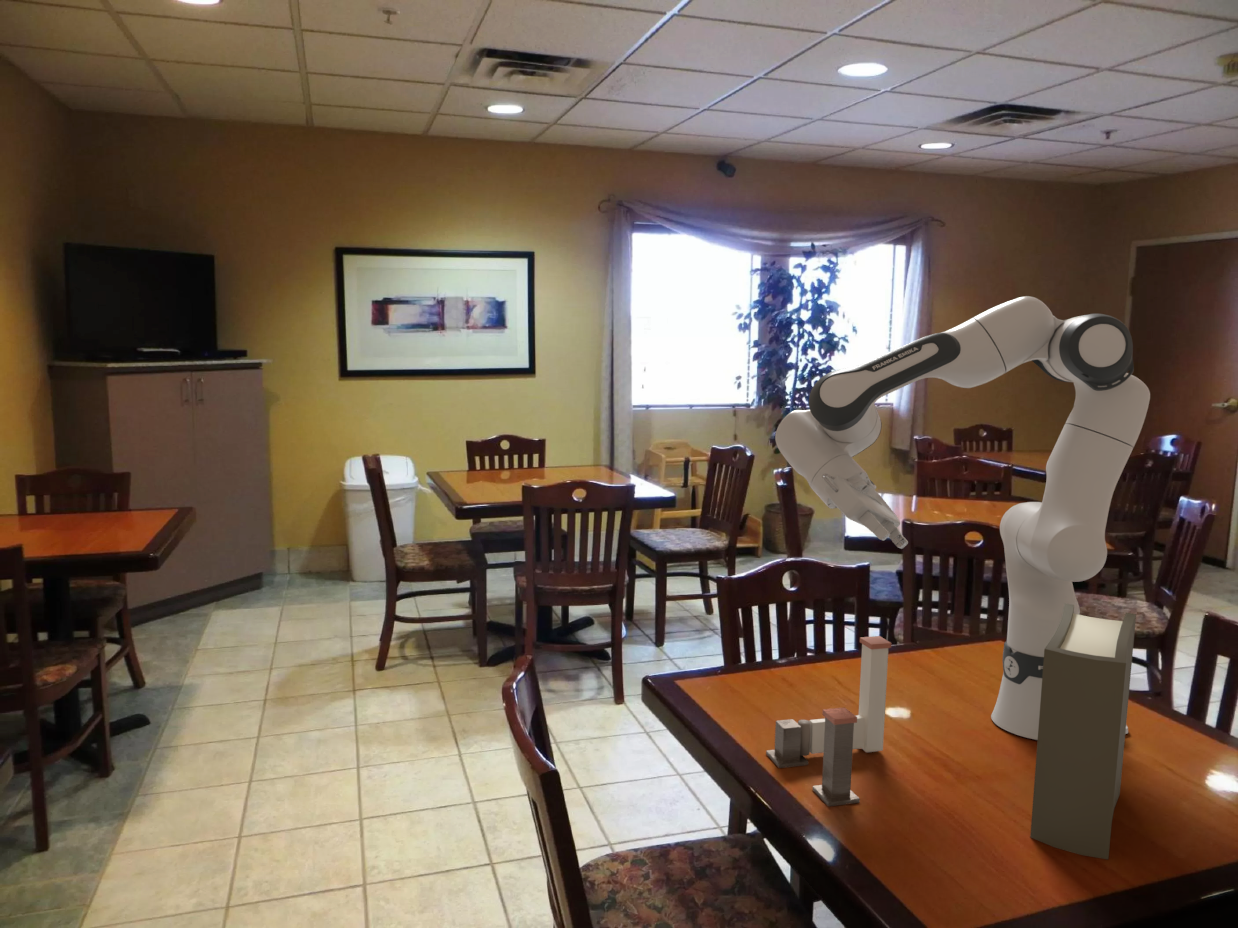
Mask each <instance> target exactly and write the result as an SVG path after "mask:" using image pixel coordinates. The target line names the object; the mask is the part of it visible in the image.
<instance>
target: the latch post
mask: <svg viewBox="0 0 1238 928" xmlns="http://www.w3.org/2000/svg"><path fill="white" fill-rule="evenodd" d="M822 715H823V717H824V719H825V733H824V753H822V754H823V756H822V757H823V759H822V777H821V778H822V779H821V784H819V785H812V791H813V792H814V793H815V794H816V795H817V797H819V799H820V800H821V801H823V802H824V804H825V805H826V806H827V807H836V806H842V805H844V806H845V805H850V804H859V803H860V801H861V799H860V797H859V796H858V795H857V794H855V793H854V791H853V790H851V787H852V785H851V784H852V769H853V768H852V767H853V750H854V749H853V731H854V723H857V717H856V716H855V714H854V713H852V712H851V711H850V710H849V709H847V708H846V707H836V708H827V709H825V708H824V709H822Z"/></svg>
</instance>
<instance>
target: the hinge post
mask: <svg viewBox="0 0 1238 928" xmlns="http://www.w3.org/2000/svg"><path fill="white" fill-rule="evenodd" d="M774 732H775V733H774V749H768V750H765V755H766V756H767V757H768V758H769V759H770V760H771V761H772V762H773V763H774V764H775V765H776V766H777V768H778V769H782V768H783V769H784V768H791V767H792V768H793V767H802V766H808V765H809V760H807V758H806V757H805V756H802V755H800V742H801V726H800V725H799V724H798V721H795V719H792V718H790V719H781V720H775V730H774Z"/></svg>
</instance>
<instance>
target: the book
mask: <svg viewBox="0 0 1238 928" xmlns="http://www.w3.org/2000/svg"><path fill="white" fill-rule="evenodd" d="M1136 620H1137V614H1136V613H1131V612H1130V613H1129V612H1125V614H1124V617H1123V620H1114V619H1107V618H1098V617H1092V616H1088V615H1087V616H1086V615H1082V614H1079V615H1078V614H1074V605H1072V604H1064V609H1063V614H1062V619H1061V621H1060V623H1059V625H1058V628H1057V630H1056V632H1055V634H1054V635H1053V637H1052V638H1051V640H1050V641H1049V643H1048V644H1047V646H1046V647H1045V649H1044V662H1043V675H1042V688H1041V702H1040V715H1039V728H1038V740H1036V741H1037V742H1036V743H1037V745H1036V758H1035V768H1034V769H1035V771H1034V781H1033V782H1034V784H1033V793H1032V794H1033V796H1032V807H1031V808H1032V810H1031V811H1032V812H1031V823H1030V836H1029V838H1031V839H1032V840H1036V841H1039V842H1040V843H1043V844H1045V845H1048V846H1050V847H1052V848H1056V849H1059V850H1063V851H1066V852H1070V853H1074V854H1077V855H1081V856H1084V857H1091V858H1097V859H1103V860H1109V855H1110V845H1111V834H1112V824H1113V818H1114V813H1115V812H1114V811H1115V807H1116V805H1117V803H1118V799H1119V797H1120V794H1121V785H1122V773H1123V762H1124V754H1125V753H1124V750H1125V742H1126V741H1125V740H1126V739H1125V738H1126V734H1125V731H1126V725H1127V717H1128V708H1129V707H1128V706H1129V699H1130V698H1129V696H1130V685H1131V674H1132V666H1133V665H1132V664H1133V663H1132V662H1133V651H1134V643H1135V634H1136V633H1135V631H1136V629H1135V628H1136V622H1137V621H1136Z"/></svg>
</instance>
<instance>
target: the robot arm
mask: <svg viewBox="0 0 1238 928" xmlns="http://www.w3.org/2000/svg"><path fill="white" fill-rule="evenodd" d="M1133 348H1134V344H1133V339H1132V335H1131V332H1130V329H1129V328H1128V327H1127V325H1125V323H1124V322H1122V321H1121V320H1120V319H1118V318H1116V317H1114V316H1112V315H1108V314H1103V313H1090V314H1084V315H1083V314H1082V315H1079V316H1074V317H1071V318H1068V319H1059V318H1057V317H1056V316H1055V315H1053V312H1052V311H1051V310H1050V308H1049V306H1047V304H1045V303H1044V302H1043V300H1040V299H1039V298H1037V297H1034V296H1029V295H1025V296H1020V297H1016V298H1013V299H1011V300H1007V301H1005V302H1002V303H1000V304H997V305H995V306H993V307H991V308H988V309H987V310H985V311H983V312H980V313H979V314H976V315H975V316H973V317H970V318H969V319H967V320H966V321H964V322H962V323H960V324H958V325H956V326H954V327H951V328H950V329H947V330H945V331H942V332H937V333H933V334H929V335H926V336H923V337H921V338H919V339H916V340H913V341H911V342H909V343H907V344H904V345H902V346H899V347H898V348H896V349H893V350H891V351H890V352H887V353H884V354H883V355H880V356H879V357H876V358H874V359H872V360H870V361H867V362H865V363H862V364H860V365H856V366H853V367H847V368H841V369H837V370H833V371H830V372H828V373H826V374H824V375H822V376H821V378H819V379H818V380H817V381H816V382H815V383H814V385H813V386H812V388H811V390H810V393H809V397H808V408H809V409H806V410H805V409H804V410H802V409H796V410H792V411H790V412H789V413H788V414H787V415H785V416H784V418H782V419H781V421H780V422H779V424H778V426H777V429H776V431H775V437H774V439H775V444H776V447H777V448H778V451H779V452H780V453H781V455H782V456H783V457H784V459H785V460H786V462H787V463H788V464H789V465H790V466H791V467H792V468H793V470H794V471H795V472H796V474H798V475H800V476H802V477H803V478H804V479H805V480H806V481H807V483H808V485H809V487H810V489H811V491H813V492H814V493H815V494H816V495H817V496H818V497H819V499H820V501H822V502H823V503H824V504H825V506H827V507H828V508H829V509H831V510H832V509H838V510H839V511H840V512H841V513H842V514H843V515H844V516H845V517H846V518H847V519H849V520H850V521H853V522H856V523H858V524H860V525H862V526H863V527H865V528H866V529H868V530H869V531H870V532H871V533H873V535H874V536H875V537H876V538H878V539H879V540H881V541H885V540H887V539H888V538H889V539H890V540H891V541H892V543H893V544H894V545H895V546H896V547H897V548H899V549H901V550H902V549H904V548H905V547H906V546H907V545H908V544H909V541H908V540H907V539H906V537H904V535H903V534H902V532H901V531H900V529H899V528H898V527H900V525H901V521H900V519H899V517H898V516H897V515H896V513H895V512H894V511H893V510H892V508H891V507H890V506H889V504H888V503H887V502H886V501H885V499H884V498H883V497H882V496H881V495H880V494H879V492H878V491H877V490H876V489H877V485H876V484H875V483H874V482H873V481H872V480H871V479H870V477H869V475H868V473H867V471H865V469H863V468H862V466H861V465H860V464H859V463H858V462H857V461H856V460H855V459H854V457H856V456H857V455H859V454H860V453H861V452H863V451H865V450H867V449H869V447H871V446H872V445H873V444H874V443H875V442H876V441H877V440H878V439H879V437H880V434H881V432H882V427H883V426H882V419H881V417H880V414H879V411H878V409H877V407H876V405H875V403H876V402H877V401H878V400H879V399H880V398H882V397H884V396H886V395H889V394H892V393H893V392H895V391H897V390H900V389H902V388H904V387H906V386H909V385H911V384H913V383H915V382H917V381H920V380H923V379H927V378H929V379H930V378H933V379H934V378H936V379H940V380H943V381H944V382H947V383H948V384H950V385H952V386H955V387H958V388H962V389H963V388H964V389H971V388H975V387H978V386H981V385H985V384H987V383H989V382H992V381H993V380H995V379H997V378H999V377H1001V376H1003V375H1004V374H1006V373H1008V372H1009V371H1011V370H1014V369H1015V368H1016V367H1017V368H1018V367H1019V366H1020V365H1022V364H1025V363H1028V362H1033V363H1034V364H1035V365H1036V366H1037V367H1038V368H1040V370H1041V371H1042V372H1043V373H1045V374H1046V375H1047V376H1049V377H1050V378H1052V379H1054V380H1056V381H1058V382H1064V383H1073V386H1074V391H1075V399H1074V403H1073V407H1072V409H1071V412H1070V413H1069V415H1068V416H1067V419H1066V421H1065V423H1064V425H1063V428H1062V429H1061V431H1060V434H1059V435H1058V438H1057V440H1056V442H1055V444H1054V447H1053V449H1052V451H1051V453H1050V455H1049V457H1048V459H1047V462H1046V465H1045V474H1046V480H1045V481H1046V482H1045V488H1044V493H1043V497H1042V501H1027V502H1020V503H1017V504H1014V505H1013V506H1011V507H1010V508H1009V509H1008V510H1006V511H1005V513H1004V514H1003V515H1002V517H1001V520H1000V523H999V535H1000V537H1001V540H1002V543H1003V548H1004V549H1003V550H1004V560H1005V561H1004V562H1005V571H1006V578H1007V588H1008V598H1009V599H1008V601H1009V602H1008V603H1009V604H1008V605H1009V606H1008V620H1007V633H1006V641H1005V642H1004V643H1003V651H1002V670H1003V672H1002V678H1001V682H1000V687H999V690H998V695H997V699H996V703H995V705H994V708H993V711H992V713H991V714H990V718H991V720H992V721H993V723H994V724H995V725H996V726H998V727H999V728H1001V729H1003V730H1004V731H1007V732H1008V733H1011V734H1014V735H1017V736H1020V737H1023V738H1027V739H1032V740H1035V741H1038V728H1039V715H1040V702H1041V688H1042V675H1043V662H1044V649H1045V647H1046V646H1047V644H1048V643H1049V641H1050V640H1051V638H1052V637H1053V635H1054V634H1055V632H1056V630H1057V628H1058V625H1059V623H1060V621H1061V619H1062V614H1063V609H1064V604H1072V605H1074V614H1078V615H1081V614H1080V613H1081V611H1080V604H1079V602H1078V600H1077V596H1076V593H1075V588H1074V585H1073V582H1074V583H1075V582H1078V583H1079V582H1083V581H1087V580H1089V579H1092V578H1093V577H1095V576H1096V575H1097V574H1099V572H1101V570H1102V569H1103V567H1104V566H1105V564H1106V561H1107V559H1108V557H1107V556H1108V548H1107V547H1108V546H1107V543H1106V527H1107V522H1108V517H1109V511H1110V507H1111V502H1112V498H1113V495H1114V491H1115V489H1116V486H1117V484H1118V481H1119V480H1120V477H1121V475H1122V473H1123V471H1124V468H1125V466H1126V464H1127V463H1128V460H1129V458H1130V455H1131V454H1132V451H1133V449H1134V448H1135V445H1136V444H1137V441H1138V439H1139V436H1140V434H1141V432H1142V428H1143V425H1144V423H1145V420H1146V417H1147V412H1148V409H1149V406H1150V405H1149V404H1150V400H1151V391H1150V389H1149V387H1148V386H1147V384H1146V383H1144V381H1142V380H1141V379H1139V378H1138V377H1137V376H1135V375H1133V373H1134V371H1135V368H1134V367H1135V366H1134V358H1133V351H1134V349H1133ZM1126 734H1129V727H1128V725H1127V724H1126V731H1125V735H1126Z"/></svg>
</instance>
